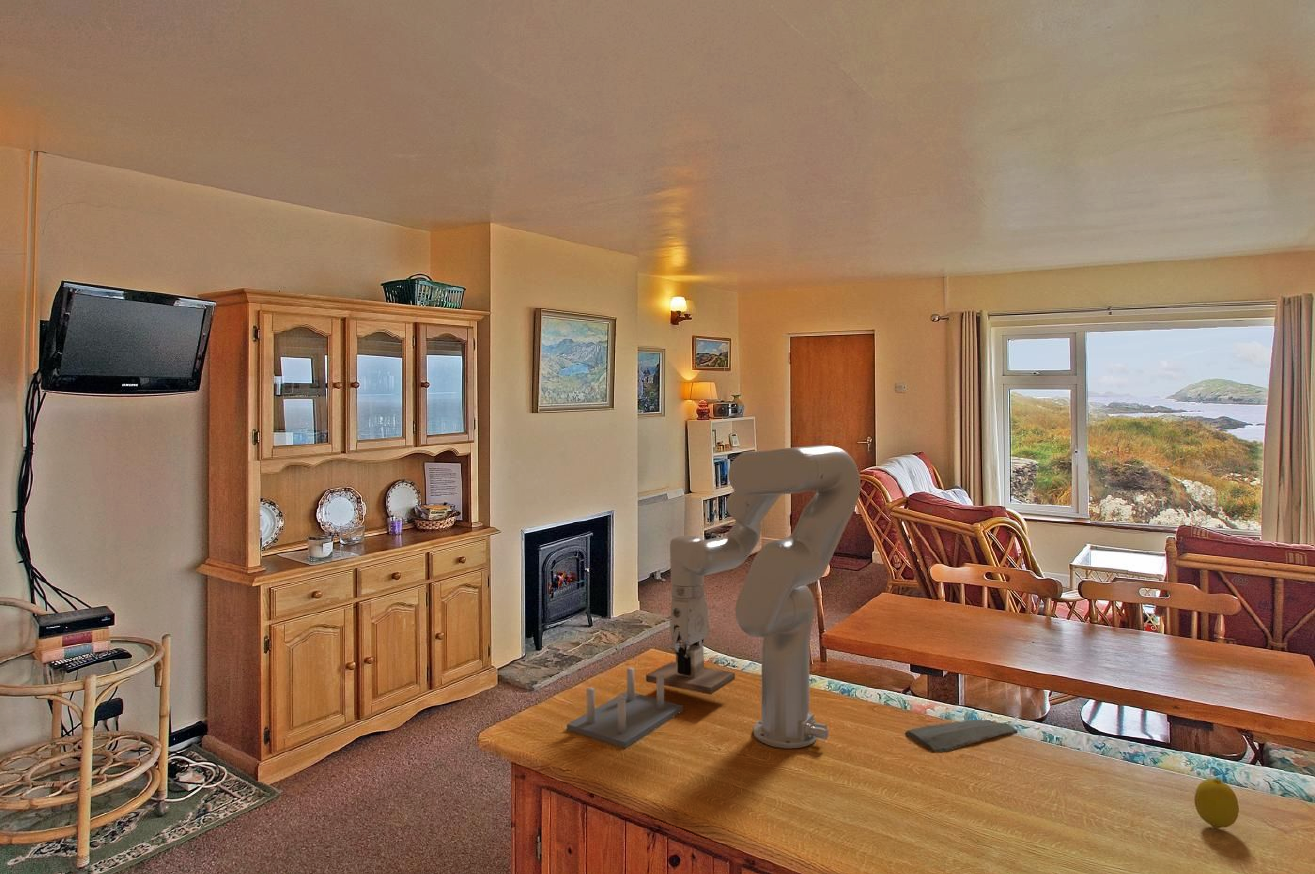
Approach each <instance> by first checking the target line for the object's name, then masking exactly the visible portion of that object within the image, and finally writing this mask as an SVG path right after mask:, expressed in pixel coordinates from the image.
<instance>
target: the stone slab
mask: <svg viewBox="0 0 1315 874" xmlns="http://www.w3.org/2000/svg"><path fill="white" fill-rule="evenodd" d="M1016 732H1018V730H1017V728H1016V727H1014V726H1012V725H1010V724H1009V723H1006V722H1004V723H1003V722H997V721H992V720H991V721H990V720H982V719H973V720H966V721H956V722H955V721H954V722H947V723H940V724H936V725H935V724H933V725H925V726H920V727H914V728H911V729H908V730H906V731H905V735H906V737H908V738H910V739H912V740H913V741H915V742H917V743H918V744H919V745H921V744H922V745H921V746H923V747H924V748H926V749H928V750H930V751H931V752H932V753H941V754H942V753H949V752H952V751H953V752H954V750H958V749H960V748H962V747H964V746H965V747H966V746H968V745H971V744H976V743H979V742H981V741H985V740H987V739H991V738H995V737H998V736H1003V735H1009V734H1015V733H1016Z"/></svg>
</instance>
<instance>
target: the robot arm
mask: <svg viewBox="0 0 1315 874" xmlns="http://www.w3.org/2000/svg"><path fill="white" fill-rule="evenodd" d="M728 482H729V485H730V486H731V488H732V489H733V490H732V491H731V493H730V494H729V495H728V497H727V499H726V501H725V508H726V510H727V513H728V515H730V517H731V518H732V519H733V520H734V521H735V522H734V524H733V525H732V526H731V528H730V529H729V531H727V533H726V534H725V535H723V536H718V537H712V538H708V539H703V540H702V539H701V538H700V537H699V536H694V535H681V536H676V537H673V538H672V539H671V540H670V542H669V550H670V551H669V553H670V554H669V556H670V557H669V559H670V587H671V588H670V591H671V592H670V595H671V597H670V598H671V604H670V614H669V615H670V616H669V617H670V618H669V619H670V620H669V621H670V622H669V627H670V628H669V632H670V633H669V634H670V640H671V643H670V650H672V651H673V652H674V653H675V657H676V656H677V660H678V673H679V674H684V675H690V674H691V657H689V646H690V645H695V646H701V647H703V648H704V646H703V643H704V641H705V639H706V638H707V637H708V636H709V634H710V625H709V623H710V622H709V611H708V604H707V603H708V602H707V598H706V595H705V576H709V575H713V574H717V573H721V572H725V571H729V570H733V569H735V568H738V567H739V566H741V565H742V564H743V563H744V562H745V561H746V560H748V558H749V556H750V555H751V553H752V552H753V551H754V550H755V548H756V546H757V545H758V543H759V541H760V538H761V534H762V524H761V523H762V521H763V520H764V518H765V517H766V516H767V514H768V512H770V510H771V509H772V508H773V506H774V505H775V504H776V502H777V501H778V499H779V498H780V497H781V495H790V494H791V495H792V494H802V493H808V492H815V491H816V492H815V494H814V495H813V497H812V498H811V499H810V501H808V503H807V504H806V505H805V507H804V508H803V510H802V512H801V514H800V516H799V519H798V521H797V524H796V525H795V528H794V529H793V531H792V532H791V534H790V535H789V536H787V537H785V538H781V539H776V540H773V541H770V542H768V543H766V544H764V545H763V546H762V547H761V548H760V549H759V551H758V552H757V553H756V554H755V556H754V559H753V561H752V563H751V565H750V568H749V570H748V572H747V575H746V577H745V580H744V582H743V585H742V586H741V589H740V591H739V594H738V595H737V596H738V597H737V600H736V604H735V616H736V617H735V618H736V621H737V624H738V626H739V628H740V629H741V631H743V632H744V633H745V634H746V635H748V636H750V637H753V638H762V645H761V702H760V703H761V704H760V705H761V719H760V720H758V721H757V722H756V723H754V725H753V735H754V736H755V738H756V739H757V740H758V741H760V742H761V743H763V744H765V745H767V746H770V747H775V748H780V749H801V748H804V747H809V746H810V745H812V744H814V743H815V742H816V741H817V739H821V740H827V739H828V737H829V729H827V727H828V726H827V724H824V723H818V722H816V720H815V713H811V712H810V661H811V660H810V657H811V656H810V654H811V652H810V649H811V635H812V634H811V633H812V629H813V628H812V626H813V622H814V616H815V607H816V606H815V603H816V602H815V599H814V596H813V595H814V594H813V592H812V591H811V589H810V588H809V586H808V585H811V584H813V583H815V582H817V581H819V580H820V579H822V577H824V574H825V573H826V572H827V569H828V567H829V565H830V562H831V560H832V558H833V556H834V553H835V551H836V548H837V546H838V544H839V543H840V540H841V539H842V535H843V533H844V531H845V528H846V526H847V524H848V523H849V521H850V519H851V517H852V515H853V513H854V511H855V508H856V506H857V504H858V501H859V498H860V493H861V485H862V484H861V477H860V471H859V468H858V466H857V464H856V461H855V460H854V458H853V457H852V456H851V455H850V454H849V453H848V452H847V451H846V450H845V449H843V448H841V447H837V446H834V445H826V444H825V445H824V444H822V445H810V446H795V447H793V446H792V447H787V448H778V449H777V448H776V449H771V450H769V449H768V450H756V451H745V452H742V453H740V454H738V455H737V456H736V457H735V458H734V459H733V460H732V462H731V464H730V466H729V469H728ZM681 646H685V650H684V649H683V648H682V647H681Z"/></svg>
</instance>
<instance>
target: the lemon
mask: <svg viewBox="0 0 1315 874" xmlns="http://www.w3.org/2000/svg"><path fill="white" fill-rule="evenodd" d="M1193 799H1194V807H1195V809H1196V812H1197V814H1198V815H1199V817H1200V818H1201V819H1202V820H1203V821H1204V822H1205V823H1207V825H1208V824H1209V825H1210V826H1211V827H1212V828H1213V829H1215V830H1220V829H1221V828H1229V827H1231V826H1233V824H1235V823H1236V821H1237V819H1238V817H1239V812H1240V811H1239V810H1240V809H1239V808H1240V807H1239V802H1238V801H1239V800H1238V798H1237V795H1236V793H1235V790H1233V789H1232V788H1231V787H1230V786H1229V785H1228V784H1227V783H1225V782H1223V781H1221V779H1219V778H1213V779H1212V778H1210V779H1205V780H1203V781H1202V782H1200V783H1199V784H1198V785H1197V787H1196V790H1195V792H1194V797H1193Z"/></svg>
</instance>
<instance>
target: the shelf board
mask: <svg viewBox="0 0 1315 874" xmlns="http://www.w3.org/2000/svg"><path fill="white" fill-rule="evenodd" d="M681 647H682V648H683V649H684V650H685V646H681ZM689 657H691V674H690V675H684V674H679V673H678V660H677V656H676V655H675V661H672V660H671V661H670V662H668V663H666V664H665V665H663V666H661V667H658V668H657V669H655V670H652V671H651V672H649V673H647V674H645V681H646V682H647V683H652V684H656V685H657V675H664V686H667V687H672V688H676V689H681V690H685V691H691V692H696V693H702V694H706V695H712V694H714V693H716V692H717V691H719V690H721V688H724V687H725V686H727V685H728V684H730V683H731V682H733V681H734V680H735V679H736V673H735V672H732V671H728V670H722V669H718V668H717V669H716V668H711V667H706V666H705V662H704V661H705V656H704V646H703V647H701V646H695V645H690V646H689Z"/></svg>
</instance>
